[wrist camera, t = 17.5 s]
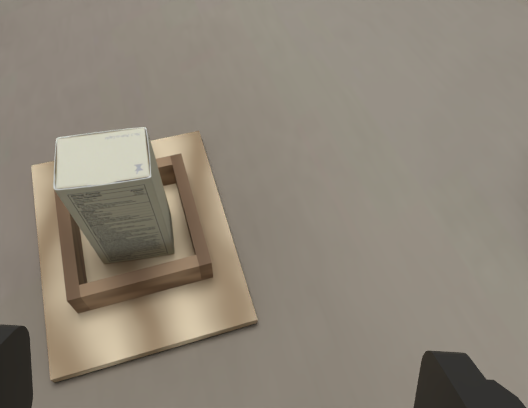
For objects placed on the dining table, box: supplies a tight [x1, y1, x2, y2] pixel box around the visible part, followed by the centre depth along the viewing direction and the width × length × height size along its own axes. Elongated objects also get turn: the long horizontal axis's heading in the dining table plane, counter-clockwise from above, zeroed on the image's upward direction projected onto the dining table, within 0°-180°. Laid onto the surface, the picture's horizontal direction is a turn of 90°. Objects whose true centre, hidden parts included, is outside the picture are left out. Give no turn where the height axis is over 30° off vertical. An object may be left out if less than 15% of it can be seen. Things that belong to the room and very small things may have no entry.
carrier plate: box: [31, 131, 258, 383], centre depth 41 cm, size 16×20×4 cm
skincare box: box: [53, 127, 175, 264], centre depth 36 cm, size 6×4×12 cm
